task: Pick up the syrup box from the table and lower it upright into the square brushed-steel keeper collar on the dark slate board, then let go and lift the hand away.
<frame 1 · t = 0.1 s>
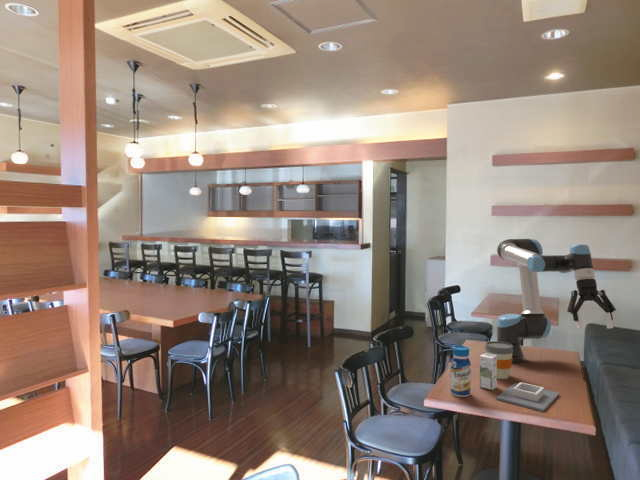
hand: (595, 328, 191), 28 cm above the table, tool tilted 20°, fingers open, 13 cm apart
syrup box: (488, 387, 199), on the table
reusable coffee cup: (498, 376, 214), on the table
beverage bottle: (460, 394, 192), on the table
keeper board: (528, 397, 188), on the table
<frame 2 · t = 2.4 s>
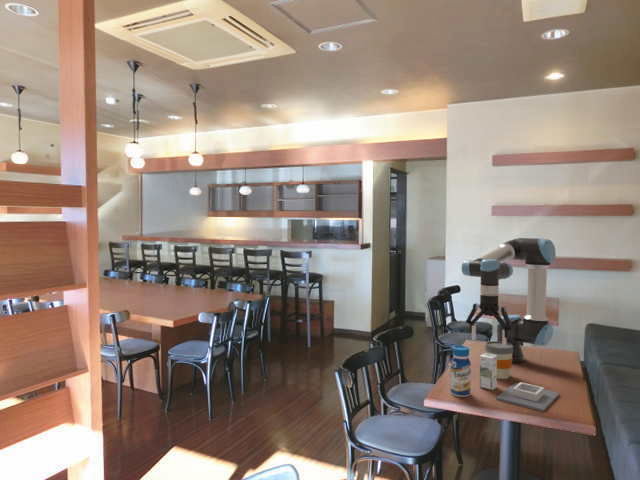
hand: (488, 342, 198), 20 cm above the table, tool pointing down, fingers open, 13 cm apart
nothing on the table moved.
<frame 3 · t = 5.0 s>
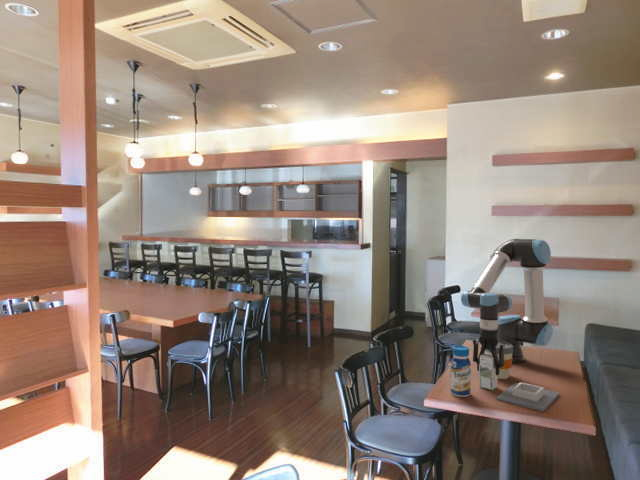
hand: (488, 379, 199), 3 cm above the table, tool pointing down, fingers closed on syrup box, 6 cm apart
syrup box: (488, 387, 199), on the table, touching gripper
everything else where it was.
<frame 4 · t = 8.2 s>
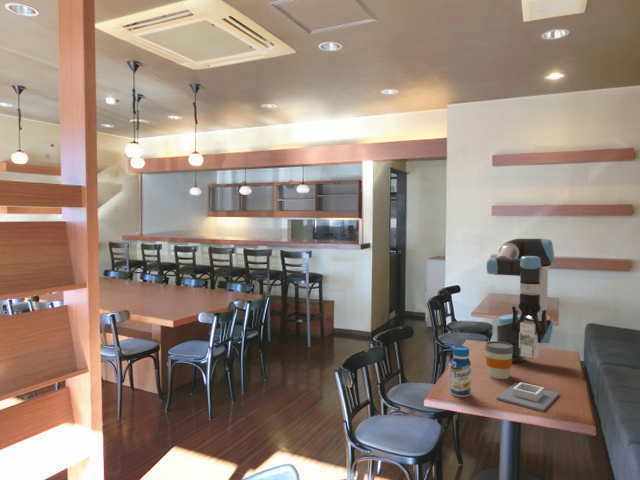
hand: (528, 348, 187), 21 cm above the table, tool pointing down, fingers closed on syrup box, 6 cm apart
syrup box: (528, 357, 187), point 17 cm above the table, touching gripper
everything else where it was.
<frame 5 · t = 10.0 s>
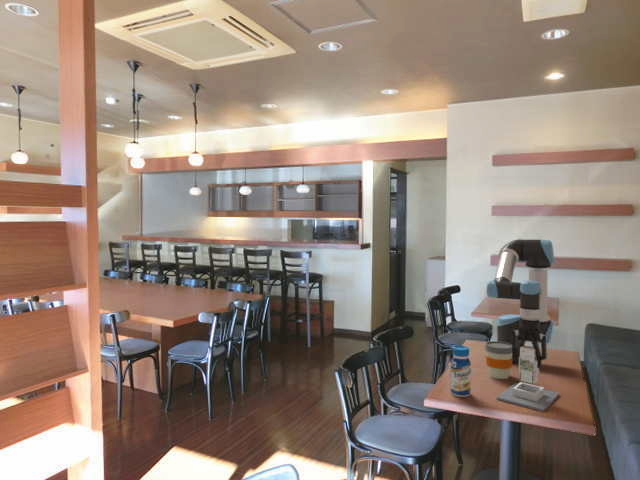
hand: (528, 373, 187), 10 cm above the table, tool pointing down, fingers closed on syrup box, 6 cm apart
syrup box: (528, 381, 187), point 7 cm above the table, touching gripper
everything else where it was.
when the fingers open (6 cm above the table, at t = 11.6 s): syrup box drops 1 cm, resting on keeper board.
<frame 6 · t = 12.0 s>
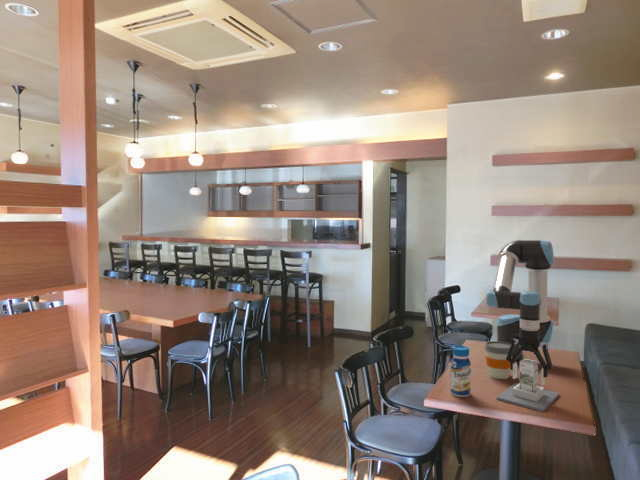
hand: (528, 381, 187), 7 cm above the table, tool pointing down, fingers open, 10 cm apart
syrup box: (528, 395, 188), point 1 cm above the table, touching keeper board
everything else where it was.
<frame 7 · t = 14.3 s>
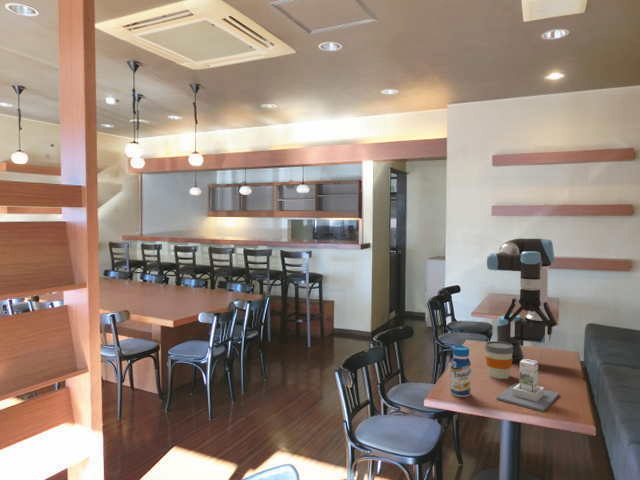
hand: (529, 339, 187), 25 cm above the table, tool pointing down, fingers open, 13 cm apart
nothing on the table moved.
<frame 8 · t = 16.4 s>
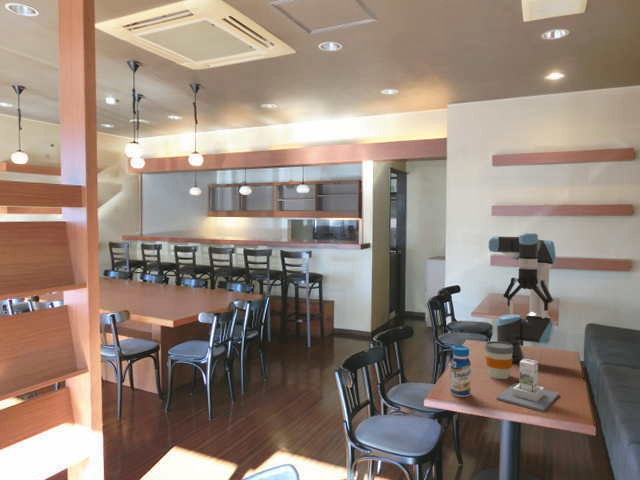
hand: (527, 315, 199), 32 cm above the table, tool pointing down, fingers open, 13 cm apart
nothing on the table moved.
at the end: syrup box 0.0 cm off-centre on the keeper board, point 0.8 cm above the keeper board's base; syrup box tilted 0°; the gripper is holding nothing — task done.
